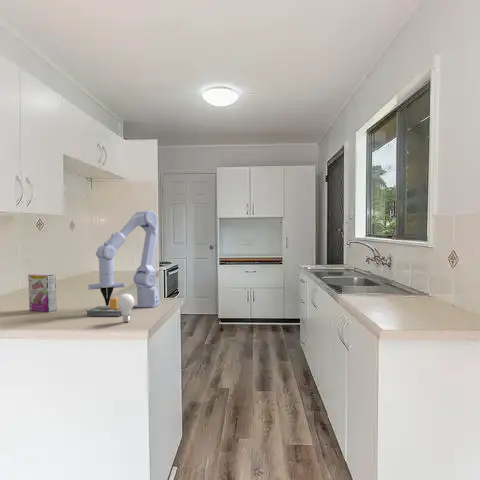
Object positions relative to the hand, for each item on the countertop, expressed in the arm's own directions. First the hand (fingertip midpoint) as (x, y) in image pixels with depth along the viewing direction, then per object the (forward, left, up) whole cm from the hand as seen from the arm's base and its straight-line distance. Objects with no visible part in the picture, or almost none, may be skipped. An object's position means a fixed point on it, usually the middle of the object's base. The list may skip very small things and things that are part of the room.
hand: (107, 305), depth 166 cm
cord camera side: (-2, +6, -3) cm, 7 cm away
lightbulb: (-15, +15, -4) cm, 21 cm away
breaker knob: (-3, 0, -1) cm, 4 cm away
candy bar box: (+32, -4, -4) cm, 33 cm away
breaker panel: (-1, 0, -3) cm, 3 cm away
